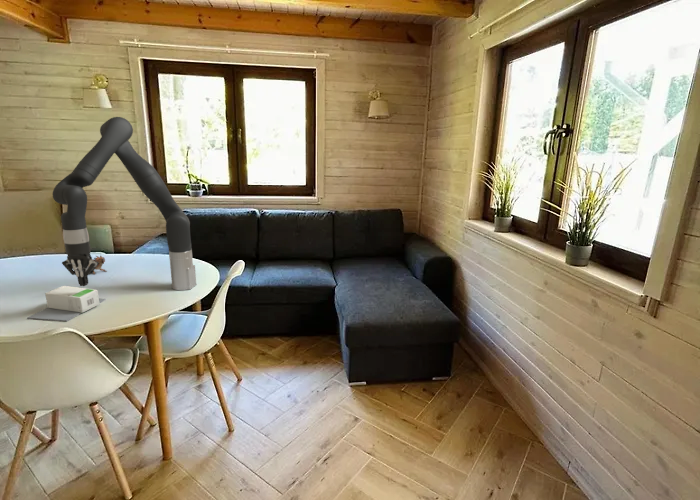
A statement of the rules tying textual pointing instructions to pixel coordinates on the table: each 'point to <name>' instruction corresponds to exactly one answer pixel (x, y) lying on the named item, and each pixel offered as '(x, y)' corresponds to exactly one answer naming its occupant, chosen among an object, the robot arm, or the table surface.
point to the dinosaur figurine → (100, 261)
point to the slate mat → (56, 314)
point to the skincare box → (72, 298)
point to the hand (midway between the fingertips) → (83, 285)
